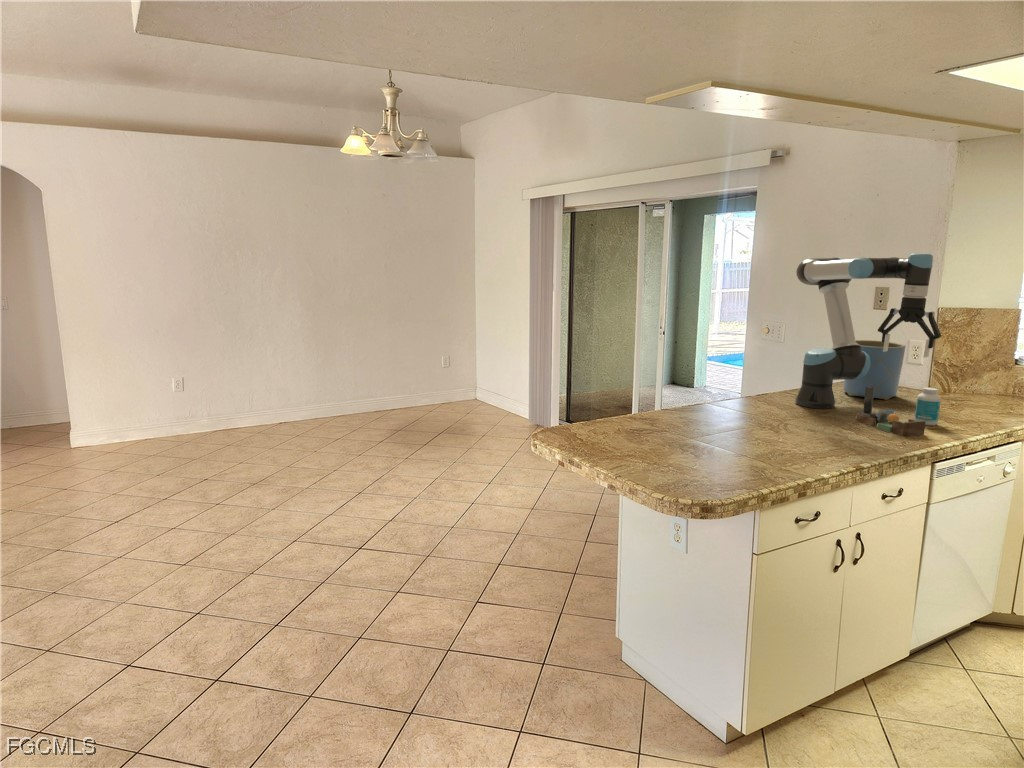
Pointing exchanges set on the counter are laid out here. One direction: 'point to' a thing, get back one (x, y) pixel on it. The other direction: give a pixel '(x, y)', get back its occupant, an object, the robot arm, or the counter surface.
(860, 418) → the guide
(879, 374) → the planter
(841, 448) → the counter surface
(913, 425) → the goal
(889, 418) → the ball
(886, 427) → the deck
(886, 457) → the counter surface
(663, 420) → the counter surface
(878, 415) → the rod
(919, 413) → the pill bottle
